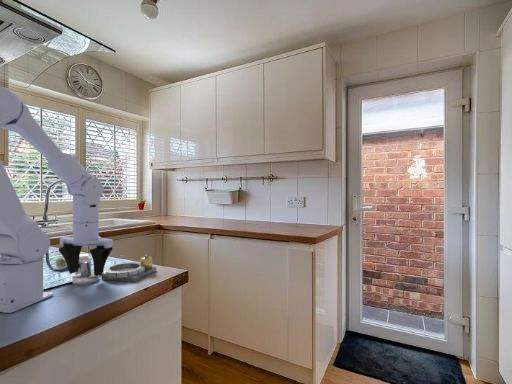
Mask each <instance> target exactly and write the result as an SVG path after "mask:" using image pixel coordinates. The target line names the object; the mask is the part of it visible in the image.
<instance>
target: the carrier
mask: <svg viewBox="0 0 512 384" xmlns="http://www.w3.org/2000/svg"><path fill="white" fill-rule="evenodd" d="M155 272H157V266H153V257H152V256H149V254H144V255H143V256H142V257H140V259H139V261H126V262H124V261H123V262H119V263H113V264H110V265H107V266H104V270H103V274H101V280H106V281H115V282H116V281H117V282H118V281H119V282H129V283H136V282H138V281H140V280H142V279H143V278H146V277H148V276H149V275H152V274H153V273H155Z"/></svg>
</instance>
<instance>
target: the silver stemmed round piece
mask: <svg viewBox="0 0 512 384" xmlns="http://www.w3.org/2000/svg"><path fill="white" fill-rule="evenodd" d="M79 269H80V273H78V274H75V275H73V276H72V284H73V285H74V286H84V285H90V284H94V283H97V282H99V281H100V275H98V276H95V275H94V271H92V260H91V261H84V262H81V263H80V265H79Z"/></svg>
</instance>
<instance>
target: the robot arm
mask: <svg viewBox="0 0 512 384" xmlns="http://www.w3.org/2000/svg"><path fill="white" fill-rule="evenodd" d="M1 129H2V130H6V131H10V132H14V133H17V134H18V135H19V136H20V137H22V139H24V140H25V141H26V142H28V144H29V145H31V146H32V147H33V148H34V149H35V150H37V152H39V154H41V155H42V156H43V157H44V158H45V159H47V168H48V169H49V170H50V171H51V173H53V174H55V176H56V177H58V178H59V179H60V180H61V181H62V182H63V183H64V184H65V185H66V190H67V192H68V194H69V195H71V196H72V236H64V237H60V238H59V246H62V247H59V248H58V252H60V254H61V257H64V259H65V261H66V264H67V269H68V273H69V274H71V275H72V274H75V273H78V272H79V269H80V265H79V257H80V252H82V249H83V247H95V248H90V249H89V252H90V256H91V257H92V262H93V272H94V275H95V276H98V275H99V276H100V275H101V276H102V274H103V270H104V268H105V267H106V262H107V260H108V257H109V256H110V254H111V252H112V251H113V246H114V242H113V241H114V240H113V239H111V238H104V237H101V236H100V234H99V232H100V231H99V227H100V226H99V220H100V219H99V217H100V216H99V209H100V207H99V205H100V203H101V196H102V195H103V193H104V190H105V186H103V184H102V182H101V180H100V179H99V178H98V177H96V176H93V175H91V174H90V171H89V170H88V169H86V168H85V167H84V166H83V165H82V164H81V163H80V162H79V160H78V156H76V155H75V154H72V153H71V152H69V151H63V150H61V149H60V147H59V146H58V145H57V144H56V143H55V142H54V141H53V139H52V138H51V137H50V136H49V135H48V133H47V132H46V131H45V130H44V129H43V127H42V126H41V125H40V124H39V123H38V122H37V120H36V119H35V117H34V116H33V115H32V113H31V111H30V109H29V106H28V105H27V104H25V103H24V102H23V101H21V100H20V98H19V97H18V95H17V94H16V93H15V92H14V91H12V90H11V89H10V88H8V87H6V86H1V85H0V130H1ZM23 206H24V205H22V202H21V200H20V197H19V195H18V193H17V192H16V189H15V188H14V185H13V183H12V180H11V179H10V177H9V175H8V173H7V171H6V168H5V166H4V164H3V162H2V160H1V159H0V313H5V314H6V313H7V314H11V313H14V312H17V311H19V310H22V309H24V308H27V307H28V306H30V305H33V304H35V303H38V302H41V301H43V300H46V299H48V298H49V297H53V296H54V295H55V293H54V292H47V291H44V259H45V257H44V256H45V255H46V254H47V253H48V251H49V249H50V247H51V239H50V237H49V235H48V234H47V232H45V231H44V230H42V229H41V228H40V227H39V225H38V222H37V221H35V220H34V219H33V218H32V217H30V215H28V214H27V213H26V211H25V208H24V207H23Z"/></svg>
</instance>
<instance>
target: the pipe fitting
mask: <svg viewBox="0 0 512 384" xmlns="http://www.w3.org/2000/svg"><path fill="white" fill-rule="evenodd" d="M84 261H91V262H92V261H93V258H92V256H91V255H89V254H88V253H84V252H82V251H81V252H80V257H79V266H80V263H81V262H84ZM55 267H56V268H57V269H58V270H64V269H66V268H67V269H68V267H67V264H66V261H65V259H64V257H63V256H61V257H58V258H56V259H55Z"/></svg>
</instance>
